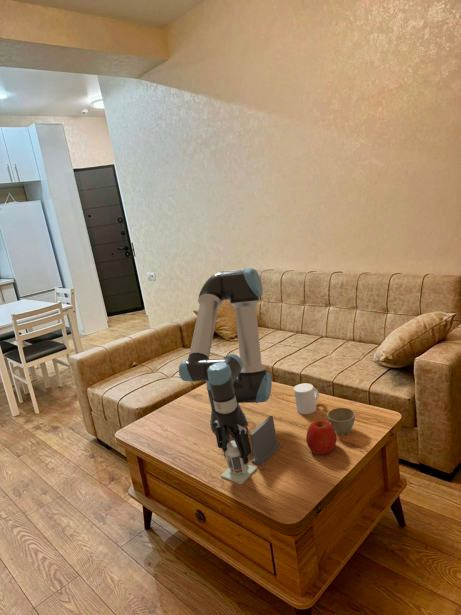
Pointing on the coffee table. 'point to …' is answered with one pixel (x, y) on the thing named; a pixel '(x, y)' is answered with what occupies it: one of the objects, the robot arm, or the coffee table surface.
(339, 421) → the flower pot
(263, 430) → the screen
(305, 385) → the mug
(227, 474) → the mat
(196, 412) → the coffee table surface
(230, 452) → the pill bottle
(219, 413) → the robot arm
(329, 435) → the apple
